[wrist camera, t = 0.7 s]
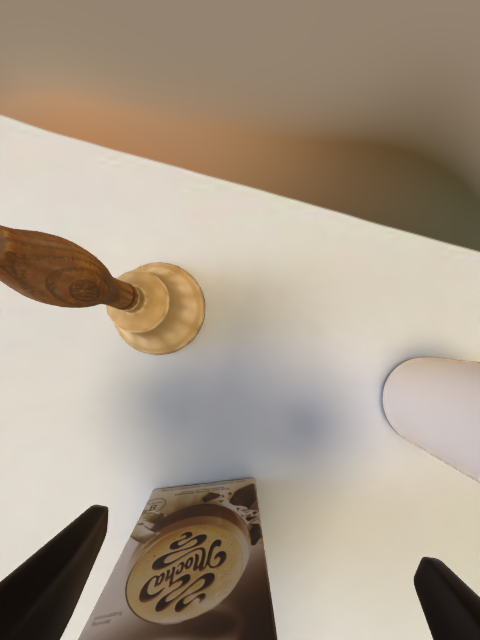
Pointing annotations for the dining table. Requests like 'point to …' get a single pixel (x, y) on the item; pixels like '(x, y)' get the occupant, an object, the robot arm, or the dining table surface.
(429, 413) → the pill bottle
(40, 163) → the dining table surface
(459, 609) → the robot arm
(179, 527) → the coffee box
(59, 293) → the hand bell
